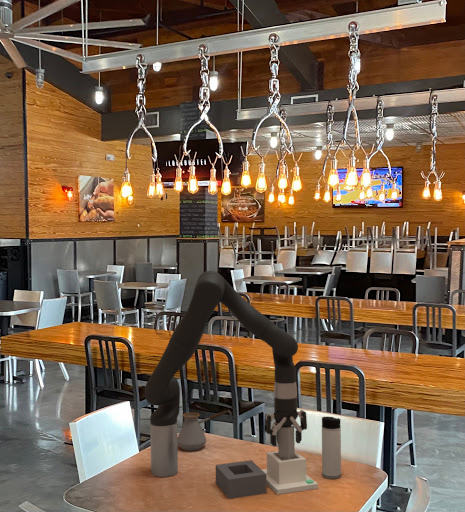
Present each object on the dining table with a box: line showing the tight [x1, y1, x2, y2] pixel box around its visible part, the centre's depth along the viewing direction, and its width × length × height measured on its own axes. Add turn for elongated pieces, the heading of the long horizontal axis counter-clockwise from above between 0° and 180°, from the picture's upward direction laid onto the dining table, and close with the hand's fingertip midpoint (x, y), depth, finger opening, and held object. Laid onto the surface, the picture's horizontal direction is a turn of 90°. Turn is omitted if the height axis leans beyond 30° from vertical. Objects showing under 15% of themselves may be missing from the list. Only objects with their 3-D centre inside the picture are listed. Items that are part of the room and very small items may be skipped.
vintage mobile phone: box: [275, 425, 296, 461], centre depth 203 cm, size 4×5×25 cm
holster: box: [215, 459, 268, 500], centre depth 198 cm, size 14×12×6 cm
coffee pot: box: [177, 409, 232, 452], centre depth 237 cm, size 21×12×15 cm, turn 83°
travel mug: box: [321, 416, 342, 480], centre depth 207 cm, size 6×7×20 cm
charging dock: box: [261, 450, 319, 496], centre depth 203 cm, size 18×14×8 cm
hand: (286, 444), depth 203 cm, fingers open, 8 cm apart
